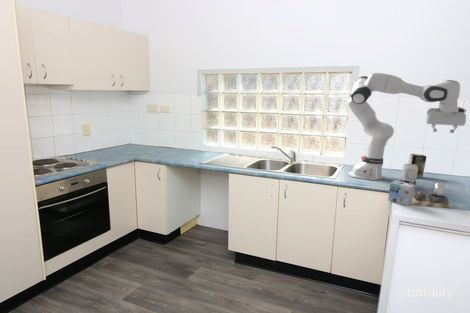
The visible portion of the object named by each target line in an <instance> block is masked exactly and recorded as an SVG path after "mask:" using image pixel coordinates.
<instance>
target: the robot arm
mask: <svg viewBox="0 0 470 313" xmlns="http://www.w3.org/2000/svg"><path fill="white" fill-rule="evenodd" d="M460 91H461V83H460V82H459V81H457V80H453V79H445V80H444V81H441V82H439V83H437V84H436V83H435V84H433V85H424V86H422V85H421V86H420V85H417V84H412V83H409V82H406V81H404V80H403V79H402V78H401V77H398V76H396V75H393V74H389V73H384V72H383V73H381V72H372V73H370V74H369V75H368V76H365V75H363V76H359V77H358V78H357V79H356V80H355V82H354V84H353V86H352V89H351V92H350V97H349V98H348V99H347V105H348V107H349V109H350V110H351V112H352V113H353V115H354V116H355V117H356V119H358V121H359V122H360V123H361V126H362V128H363V131H364V133H365V134H366V135H368V136H370V137H372V138H371V139H370V142H369V143H368V144H367V145H366V152H365V155H361V156H360V158H361V161H360V162H358V163H356V164H354V165H353V166H352V170H350V171H348V175H349V176H350V177H352V178H356V179H363V180H369V181H370V180H372V181H377V180H382V179H383V164H384V153H385V147H386V145H387V142H388V141H389V139H391V138H392V137H393V135H394V132H395V131H394V127H393V126H392V125H391V124H389V123H387V122H382V121H380V120H379V119H378V118H377V114H376V111H375V110H374V109H373V108H372V107H371V105H370V104H369V103H368V100H369V98H370V97H371V95H372V93H373V92H379V93H384V94H390V95H397V94H405V95H410V96H414V97H418V98H419V99H421V100H422V101H424V102H426V103H435V102H439V104H438V108H437V107H431V108H428V109H427V112H426V118H425V123H426V124H427V125H431V128H432V133H437V130H438V129H437V128H436V126H437V125H444V126H452V127H453V128H452V129H450V131H449V133H450V134H454V133H455V131H456V129H458V126H459V127H460V126H461V127H462V126H463V127H464V126H465V125H466V121H467V115H466V113H467V109H466V108H463V107H460V106H459V105H458V99H459V98H460Z"/></svg>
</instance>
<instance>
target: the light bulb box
mask: <svg viewBox="0 0 470 313" xmlns="http://www.w3.org/2000/svg"><path fill="white" fill-rule="evenodd" d="M414 187H415V188H416V184H415V185H413V184H409V183H404V182H401V180H400V181H399V180H396V179H395V180H393V181H391V182H390V186H389V192H388V198H387V201H390V202H393V203H395V204H400V205H403V206H406V207H409V205H411V204H413V202H412V199H413V196H414V193H415V188H414Z"/></svg>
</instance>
